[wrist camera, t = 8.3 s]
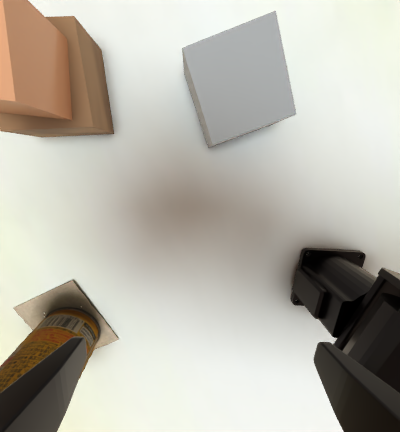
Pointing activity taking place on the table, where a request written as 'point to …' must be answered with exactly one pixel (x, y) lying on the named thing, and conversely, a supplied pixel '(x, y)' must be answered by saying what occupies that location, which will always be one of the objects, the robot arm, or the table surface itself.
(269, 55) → the slate block
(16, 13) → the terracotta cube
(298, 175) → the table surface
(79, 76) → the walnut block
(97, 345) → the condiment
